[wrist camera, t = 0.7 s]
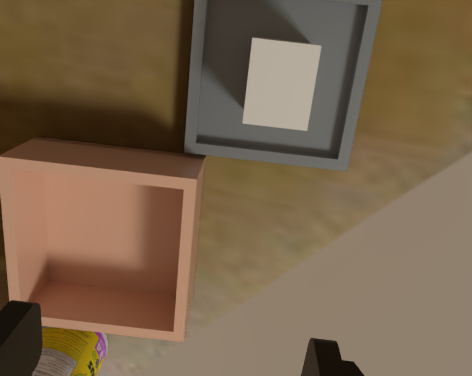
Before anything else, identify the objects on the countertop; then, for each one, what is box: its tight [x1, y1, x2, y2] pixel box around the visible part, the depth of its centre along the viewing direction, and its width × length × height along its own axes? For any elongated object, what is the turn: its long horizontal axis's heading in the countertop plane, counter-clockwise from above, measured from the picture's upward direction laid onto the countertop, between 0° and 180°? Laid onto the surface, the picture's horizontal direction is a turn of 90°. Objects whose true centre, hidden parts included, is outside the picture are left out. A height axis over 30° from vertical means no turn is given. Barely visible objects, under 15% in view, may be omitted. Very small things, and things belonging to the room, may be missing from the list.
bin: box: [0, 137, 206, 342], centre depth 33 cm, size 13×13×6 cm
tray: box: [184, 0, 382, 171], centre depth 30 cm, size 12×12×1 cm
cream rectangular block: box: [242, 36, 321, 131], centre depth 28 cm, size 5×4×5 cm
